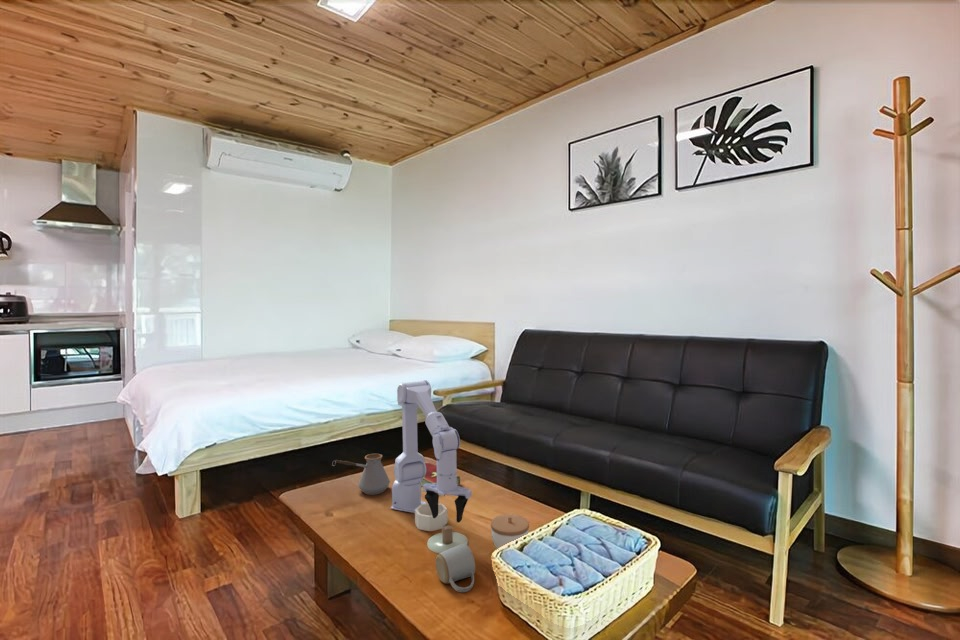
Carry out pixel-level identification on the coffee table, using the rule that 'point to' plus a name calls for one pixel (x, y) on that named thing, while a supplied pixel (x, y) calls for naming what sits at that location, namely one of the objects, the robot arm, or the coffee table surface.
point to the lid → (446, 540)
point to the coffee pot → (371, 474)
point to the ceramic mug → (456, 566)
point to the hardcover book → (433, 474)
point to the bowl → (430, 517)
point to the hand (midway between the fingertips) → (447, 518)
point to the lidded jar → (508, 528)
